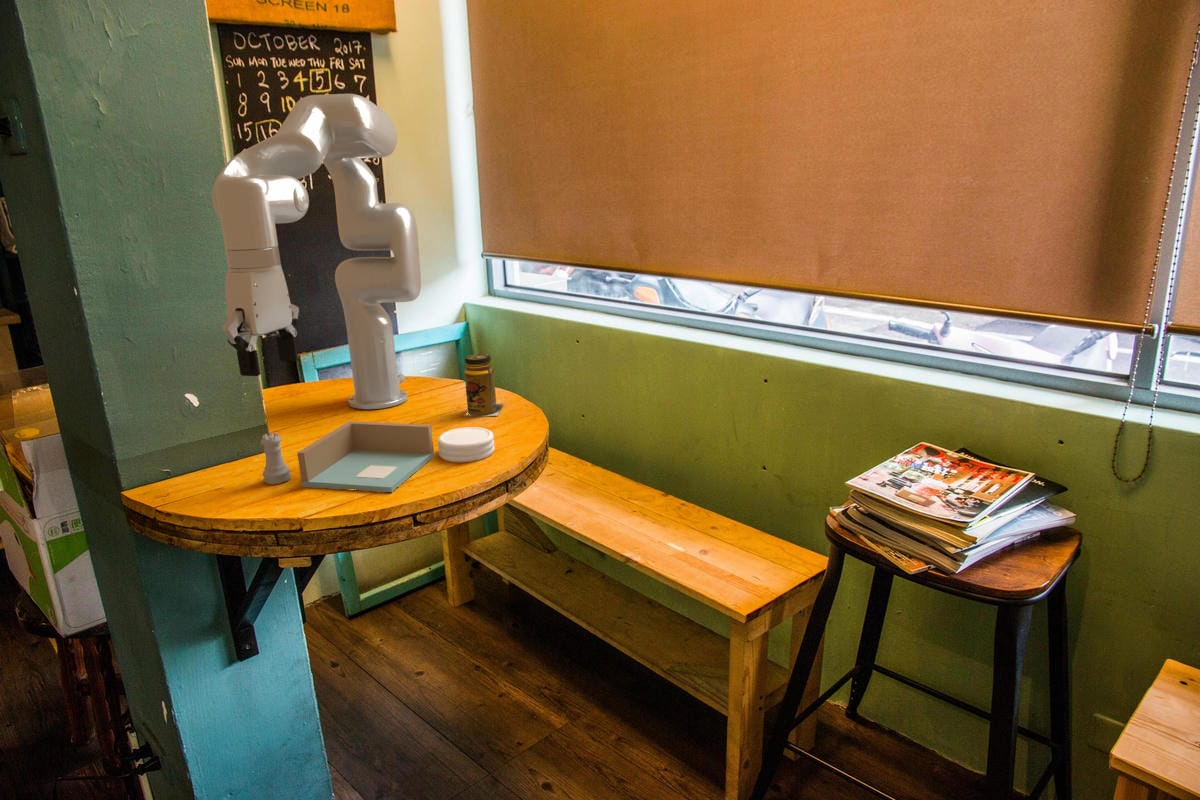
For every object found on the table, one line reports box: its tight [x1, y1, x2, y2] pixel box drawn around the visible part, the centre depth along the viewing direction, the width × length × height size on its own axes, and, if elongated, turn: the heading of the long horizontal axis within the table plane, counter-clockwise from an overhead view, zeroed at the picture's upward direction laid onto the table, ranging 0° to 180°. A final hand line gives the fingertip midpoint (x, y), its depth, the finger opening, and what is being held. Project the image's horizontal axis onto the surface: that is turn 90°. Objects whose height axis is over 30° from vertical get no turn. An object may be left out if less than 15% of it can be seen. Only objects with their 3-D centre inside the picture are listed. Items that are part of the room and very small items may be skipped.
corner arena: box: [296, 420, 435, 493], centre depth 132 cm, size 16×16×6 cm
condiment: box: [463, 353, 505, 418], centre depth 162 cm, size 7×8×12 cm
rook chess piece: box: [260, 432, 292, 486], centre depth 129 cm, size 4×4×8 cm
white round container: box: [437, 426, 496, 463], centre depth 140 cm, size 10×10×4 cm
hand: (270, 367), depth 125 cm, fingers open, 9 cm apart
